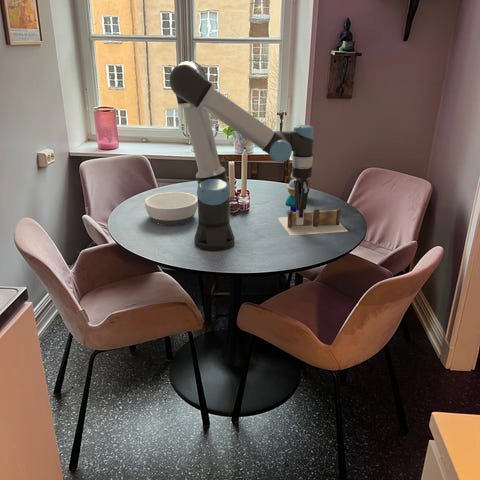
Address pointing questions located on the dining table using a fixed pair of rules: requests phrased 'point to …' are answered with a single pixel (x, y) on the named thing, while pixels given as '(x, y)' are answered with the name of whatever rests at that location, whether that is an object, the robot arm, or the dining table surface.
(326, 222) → the fence fixed
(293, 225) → the fence gate
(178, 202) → the bowl
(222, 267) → the dining table surface
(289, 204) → the toy
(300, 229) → the card
